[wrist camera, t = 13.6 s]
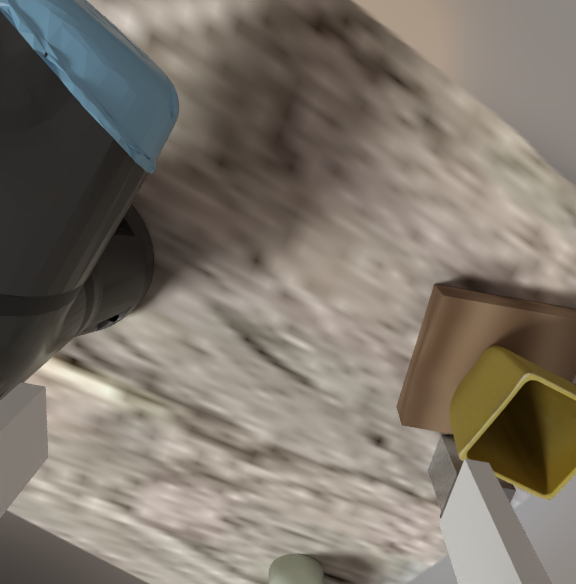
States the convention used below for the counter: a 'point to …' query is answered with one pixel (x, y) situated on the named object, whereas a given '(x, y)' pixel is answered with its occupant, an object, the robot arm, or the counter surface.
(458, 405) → the flower pot
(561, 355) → the brown curved panel
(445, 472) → the metal tin
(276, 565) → the pale green rounded cylinder
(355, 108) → the counter surface
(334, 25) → the counter surface
